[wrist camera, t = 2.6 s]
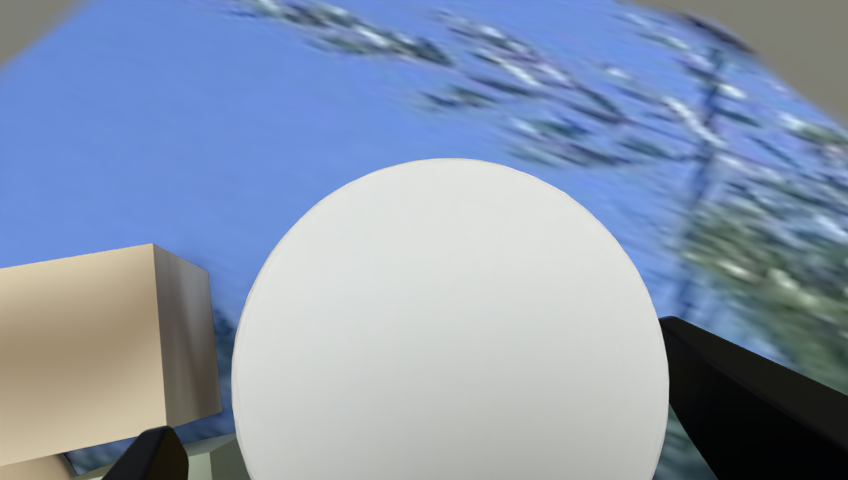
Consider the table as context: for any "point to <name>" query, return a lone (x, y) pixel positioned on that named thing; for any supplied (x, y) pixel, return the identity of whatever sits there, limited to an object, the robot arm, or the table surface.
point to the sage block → (202, 461)
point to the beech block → (103, 350)
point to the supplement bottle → (449, 337)
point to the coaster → (39, 469)
